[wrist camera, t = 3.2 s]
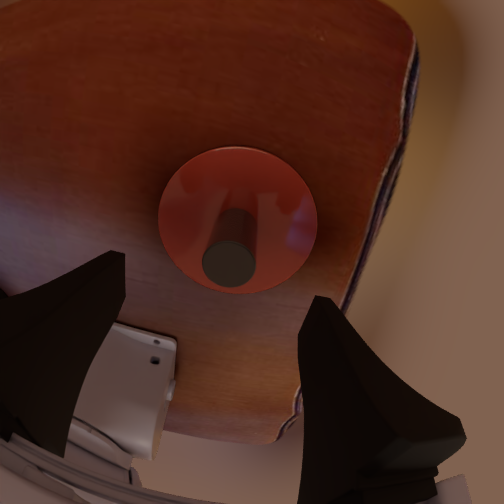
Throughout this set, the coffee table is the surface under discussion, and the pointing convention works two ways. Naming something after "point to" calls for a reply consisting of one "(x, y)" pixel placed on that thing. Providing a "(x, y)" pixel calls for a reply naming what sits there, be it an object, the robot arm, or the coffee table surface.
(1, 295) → the drinking cup
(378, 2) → the coffee table surface
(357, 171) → the coffee table surface
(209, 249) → the red lid
